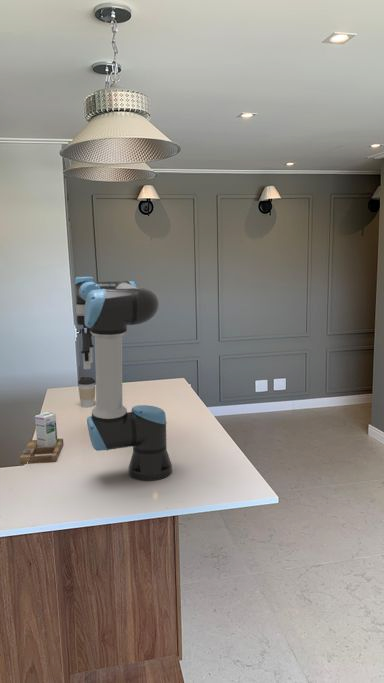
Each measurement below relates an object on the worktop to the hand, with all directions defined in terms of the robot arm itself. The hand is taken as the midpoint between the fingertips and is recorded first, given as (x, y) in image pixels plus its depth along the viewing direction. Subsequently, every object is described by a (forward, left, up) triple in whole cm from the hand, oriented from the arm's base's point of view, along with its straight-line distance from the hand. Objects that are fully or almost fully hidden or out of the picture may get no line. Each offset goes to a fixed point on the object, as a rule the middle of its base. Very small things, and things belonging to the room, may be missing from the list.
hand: (88, 365), depth 203 cm
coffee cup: (+53, +6, -31) cm, 62 cm away
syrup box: (-10, +16, -31) cm, 37 cm away
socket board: (-15, +17, -31) cm, 39 cm away
